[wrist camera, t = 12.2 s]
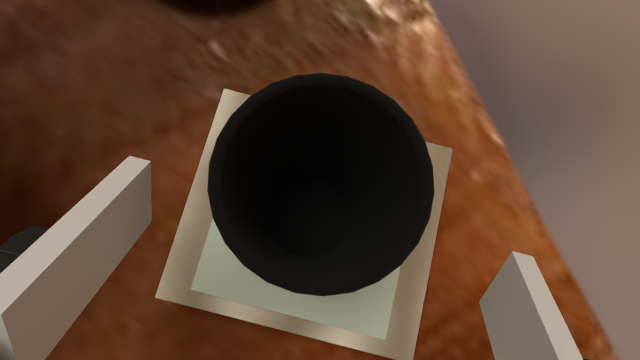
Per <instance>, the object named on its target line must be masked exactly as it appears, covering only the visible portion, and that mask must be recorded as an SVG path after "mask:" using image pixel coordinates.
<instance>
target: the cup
mask: <svg viewBox="0 0 640 360" xmlns="http://www.w3.org/2000/svg"><path fill="white" fill-rule="evenodd" d="M207 192H208V197H209V202H210V207H211V212H212V217H213V220H214V222H215V224H216V226H217V228H218V230H219V232H220V234H221V236H222V239H223V241H224V243H225V244H226V245H227V247H228V248H229V249H230V250H231V251H232V253H233V254H234V255H235V256H236V257H237V259H238V260H239V261H240V262H241V263H242V265H243V266H245V267H246V268H248V269H249V270H250V271H252V272H253V273H254V274H256V275H257V276H259V277H260V278H261V279H263V280H264V281H266V282H267V283H270V284H272V285H275V286H277V287H280V288H283V289H285V290H288V291H290V292H293V293H298V294H306V295H315V296H331V295H338V294H346V293H352V292H355V291H357V290H360V289H362V288H365V287H367V286H370V285H372V284H375V283H377V282H379V281H380V280H382V279H383V278H384V277H386V276H387V275H389V274H390V273H391V272H393V271H394V270H395V269H397V268H398V267H399V266H401V265H402V263H403V262H404V261H405V260H406V259H407V257H408V256H409V255H410V254H411V252H412V251H413V250H414V249H415V247H416V246H417V245H418V244H419V241H420V239H421V237H422V235H423V233H424V231H425V228H426V226H427V224H428V222H429V220H430V215H431V210H432V204H433V199H434V193H435V191H434V175H433V165H432V162H431V158H430V155H429V152H428V149H427V145H426V142H425V140H424V138H423V137H422V135H421V133H420V132H419V130H418V128H417V126H416V125H415V123H414V121H413V120H412V118H411V117H410V116H409V115H408V114H407V113H406V112H405V111H404V110H403V109H402V108H401V107H400V106H399V105H398V104H397V103H396V102H395V101H394V100H393V99H392V98H390V97H389V96H387V95H386V94H384V93H383V92H381V91H380V90H378V89H377V88H375V87H374V86H372V85H369V84H366V83H364V82H361V81H358V80H356V79H353V78H351V77H347V76H340V75H333V74H326V73H317V74H305V75H296V76H293V77H290V78H287V79H283V80H280V81H277V82H274V83H271V84H270V85H268V86H267V87H265V88H263V89H262V90H260V91H258V92H257V93H255V94H253V95H252V96H250V97H249V98H248V99H247V100H246V101H245V102H244V103H243V104H242V105H241V106H240V107H239V108H238V109H237V110H236V111H235V112H234V113H233V114H232V115H231V116H230V117H229V119H228V121H227V122H226V124H225V126H224V127H223V129H222V130H221V132H220V134H219V135H218V137H217V139H216V142H215V146H214V149H213V152H212V155H211V158H210V161H209V170H208V187H207Z"/></svg>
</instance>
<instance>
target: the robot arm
mask: <svg viewBox="0 0 640 360" xmlns="http://www.w3.org/2000/svg"><path fill="white" fill-rule="evenodd" d="M151 222H152V210H151V161H148V160H144V159H140V158H136V157H132V156H129V157H128V158H127V159H125V160H124V161H123V162H122V163H121V164H120V165H119V166H118V167H117V168H116V169H114V170H113V171H112V172H111V173H110V174H109V175H108V176H107V177H106V178H105V179H104V180H102V181H101V182H100V183H99V184H98V185H97V186H96V187H95V188H94V189H93V190H91V191H90V192H89V193H88V194H87V195H86V196H85V197H84V198H83V199H82V200H80V201H79V202H78V203H77V204H76V205H75V206H74V207H73V208H72V209H71V210H70V211H68V212H67V213H66V214H65V215H64V216H63V217H62V218H61V219H60V220H59V221H57V222H56V223H55V224H54V225H53V226H52V227H51V228H50V229H48V228H44V227H40V226H36V225H33V226H31V227H29V228H27V229H25V230H23V231H20V232H18V233H16V234H14V235H13V236H11V237H10V238H9V239H8V240H7V241H6V242H4V243H3V244H2V245H1V246H0V360H45V359H46V358H47V356H48V355H49V354H50V353H51V351H52V350H53V349H54V347H55V346H56V345H57V343H58V342H59V341H60V340H61V338H62V337H63V336H64V334H65V333H66V332H67V331H68V329H69V328H70V327H71V325H72V324H73V323H74V321H75V320H76V319H77V318H78V316H79V315H80V314H81V312H82V311H83V310H84V308H85V307H86V306H87V305H88V303H89V302H90V301H91V299H92V298H93V297H94V296H95V294H96V293H97V292H98V290H99V289H100V288H101V286H102V285H103V284H104V283H105V281H106V280H107V279H108V277H109V276H110V275H111V273H112V272H113V271H114V270H115V268H116V267H117V266H118V264H119V263H120V262H121V261H122V259H123V258H124V257H125V255H126V254H127V253H128V251H129V250H130V249H131V248H132V246H133V245H134V244H135V242H136V241H137V240H138V238H139V237H140V236H141V235H142V233H143V232H144V231H145V229H146V228H147V227H148V226H149V224H150V223H151ZM479 304H480V307H481V311H482V314H483V318H484V321H485V325H486V329H487V332H488V336H489V339H490V343H491V346H492V350H493V353H494V357H495V360H588V359H584V358H582V356H581V354H580V352H579V350H578V348H577V346H576V344H575V342H574V340H573V338H572V336H571V334H570V332H569V330H568V327H567V325H566V323H565V321H564V319H563V317H562V315H561V313H560V311H559V309H558V307H557V305H556V303H555V301H554V299H553V297H552V295H551V293H550V291H549V288H548V286H547V284H546V282H545V280H544V278H543V276H542V274H541V272H540V270H539V268H538V266H537V264H536V262H535V260H534V258H533V256H529V255H525V254H521V253H517V252H513V251H512V252H511V254H510V255H509V257H508V258H507V260H506V261H505V263H504V264H503V266H502V268H501V269H500V271H499V272H498V274H497V275H496V277H495V278H494V280H493V281H492V283H491V284H490V286H489V288H488V289H487V291H486V292H485V294H484V295H483V297H482V298H481V300H480V301H479Z"/></svg>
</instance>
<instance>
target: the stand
mask: <svg viewBox="0 0 640 360" xmlns="http://www.w3.org/2000/svg"><path fill="white" fill-rule="evenodd" d="M250 96H251V95H247V94H243V93H239V92H235V91H232V90H228V89H224V91H223V94H222V97H221V100H220V103H219V106H218V109H217V112H216V115H215V118H214V121H213V124H212V127H211V130H210V133H209V136H208V139H207V142H206V145H205V148H204V151H203V154H202V157H201V160H200V163H199V166H198V169H197V172H196V175H195V178H194V181H193V184H192V187H191V190H190V193H189V196H188V199H187V202H186V205H185V208H184V211H183V214H182V217H181V220H180V223H179V226H178V229H177V232H176V235H175V239H174V242H173V245H172V248H171V251H170V254H169V257H168V260H167V263H166V266H165V269H164V272H163V275H162V278H161V281H160V284H159V287H158V290H157V293H156V296H155V298H159V299H163V300H167V301H171V302H175V303H178V304H182V305H186V306H190V307H194V308H198V309H202V310H206V311H209V312H213V313H217V314H221V315H225V316H229V317H233V318H237V319H240V320H244V321H248V322H252V323H256V324H260V325H264V326H268V327H271V328H275V329H279V330H283V331H287V332H291V333H295V334H298V335H302V336H306V337H310V338H314V339H318V340H322V341H326V342H329V343H333V344H337V345H341V346H345V347H349V348H353V349H357V350H360V351H364V352H368V353H372V354H376V355H380V356H384V357H388V358H391V359H395V360H413V357H414V351H415V346H416V341H417V335H418V330H419V325H420V319H421V314H422V309H423V303H424V298H425V293H426V287H427V282H428V277H429V271H430V266H431V261H432V255H433V250H434V245H435V239H436V234H437V229H438V223H439V218H440V213H441V207H442V202H443V197H444V191H445V186H446V181H447V175H448V170H449V165H450V159H451V154H452V148H448V147H444V146H440V145H437V144H433V143H429V142H426V145H427V149H428V152H429V155H430V158H431V162H432V165H433V175H434V191H435V193H434V199H433V204H432V210H431V215H430V220H429V222H428V224H427V226H426V228H425V231H424V233H423V235H422V237H421V239H420V241H419V244H418V245H417V246H416V247H415V249H414V250H413V251H412V252H411V254H410V255H409V256H408V257H407V259H406V260H405V261H404V262H403V263H402V265H401V266H399V267H398V268H397V269H395V270H394V271H393V272H391V273H390V274H389V275H387V276H386V277H384V278H383V279H382V280H380V281H379V282H377V283H375V284H372V285H370V286H367V287H365V288H362V289H360V290H357V291H355V292H352V293H346V294H338V295H331V296H315V295H306V294H298V293H293V292H290V291H288V290H285V289H283V288H280V287H277V286H275V285H272V284H270V283H267V282H266V281H264V280H263V279H261V278H260V277H259V276H257V275H256V274H254V273H253V272H252V271H250V270H249V269H248V268H246V267H245V266H243V265H242V263H241V262H240V261H239V260H238V259H237V257H236V256H235V255H234V254H233V253H232V251H231V250H230V249H229V248H228V247H227V245H226V244H225V243H224V241H223V239H222V236H221V234H220V232H219V230H218V228H217V226H216V224H215V222H214V220H213V217H212V212H211V207H210V202H209V197H208V192H207V187H208V170H209V161H210V158H211V155H212V152H213V149H214V146H215V142H216V139H217V137H218V135H219V134H220V132H221V130H222V129H223V127H224V126H225V124H226V122H227V121H228V119H229V117H230V116H231V115H232V114H233V113H234V112H235V111H236V110H237V109H238V108H239V107H240V106H241V105H242V104H243V103H244V102H245V101H246V100H247V99H248V98H249V97H250Z"/></svg>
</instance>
